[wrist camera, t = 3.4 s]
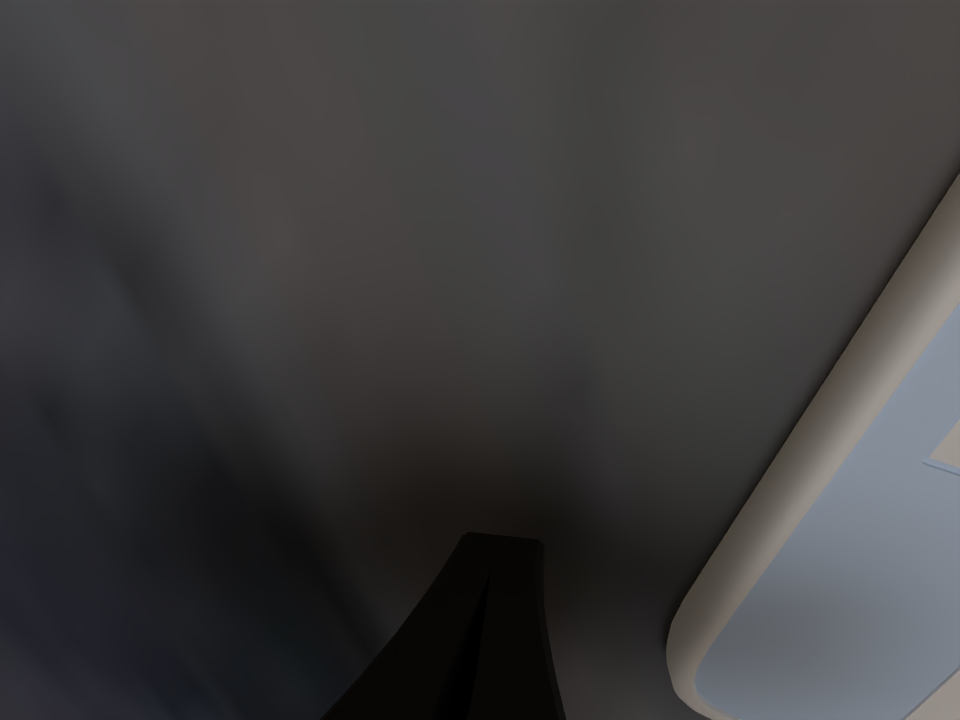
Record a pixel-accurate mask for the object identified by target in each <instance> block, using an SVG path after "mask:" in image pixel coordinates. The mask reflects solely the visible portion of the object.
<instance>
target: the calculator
mask: <svg viewBox="0 0 960 720" xmlns="http://www.w3.org/2000/svg"><path fill="white" fill-rule="evenodd" d="M666 660H667V667H668V671H669V674H670V678H671V681H672V685H673V688H674V691H675V692H676V694H677V695H678V697H679V698H680V699H681V700H682V701H684V702H685V703H686V704H687V705H688V706H689V707H690V708H691V709H693V710H694V711H696V712H698V713H700V714H702V715H704V716H706V717H708V718H710V719H712V720H960V173H959V174H958V176H957V177H956V179H955V180H954V182H953V184H952V185H951V187H950V188H949V190H948V191H947V193H946V194H945V196H944V197H943V199H942V201H941V202H940V204H939V205H938V207H937V208H936V210H935V211H934V213H933V214H932V216H931V218H930V219H929V221H928V222H927V224H926V225H925V227H924V228H923V230H922V231H921V233H920V235H919V236H918V238H917V239H916V241H915V242H914V244H913V245H912V247H911V248H910V250H909V252H908V253H907V255H906V256H905V258H904V259H903V261H902V262H901V264H900V265H899V267H898V269H897V270H896V272H895V273H894V275H893V276H892V278H891V279H890V281H889V282H888V284H887V285H886V287H885V289H884V290H883V292H882V293H881V295H880V296H879V298H878V299H877V301H876V302H875V304H874V306H873V307H872V309H871V310H870V312H869V313H868V315H867V316H866V318H865V319H864V321H863V323H862V324H861V326H860V327H859V329H858V330H857V332H856V333H855V335H854V336H853V338H852V340H851V341H850V343H849V344H848V346H847V347H846V349H845V350H844V352H843V353H842V355H841V357H840V358H839V360H838V361H837V363H836V364H835V366H834V367H833V369H832V370H831V372H830V374H829V375H828V377H827V378H826V380H825V381H824V383H823V384H822V386H821V387H820V389H819V391H818V392H817V394H816V395H815V397H814V398H813V400H812V401H811V403H810V404H809V406H808V407H807V409H806V411H805V412H804V414H803V415H802V417H801V418H800V420H799V421H798V423H797V424H796V426H795V428H794V429H793V431H792V432H791V434H790V435H789V437H788V438H787V440H786V441H785V443H784V445H783V446H782V448H781V449H780V451H779V452H778V454H777V455H776V457H775V458H774V460H773V462H772V463H771V465H770V466H769V468H768V469H767V471H766V472H765V474H764V475H763V477H762V479H761V480H760V482H759V483H758V485H757V486H756V488H755V489H754V491H753V492H752V494H751V496H750V497H749V499H748V500H747V502H746V503H745V505H744V506H743V508H742V509H741V511H740V512H739V514H738V516H737V517H736V519H735V520H734V522H733V523H732V525H731V526H730V528H729V529H728V531H727V533H726V534H725V536H724V537H723V539H722V540H721V542H720V543H719V545H718V546H717V548H716V550H715V551H714V553H713V554H712V556H711V557H710V559H709V560H708V562H707V563H706V565H705V567H704V568H703V570H702V571H701V573H700V574H699V576H698V577H697V579H696V581H695V582H694V584H693V585H692V587H691V588H690V590H689V592H688V593H687V595H686V596H685V598H684V600H683V601H682V603H681V605H680V607H679V609H678V611H677V613H676V615H675V617H674V619H673V620H672V623H671V627H670V631H669V635H668V640H667V647H666Z"/></svg>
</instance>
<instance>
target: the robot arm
mask: <svg viewBox="0 0 960 720" xmlns="http://www.w3.org/2000/svg"><path fill="white" fill-rule="evenodd" d="M320 720H566V717H565V713H564V709H563V705H562V701H561V696H560V692H559V688H558V684H557V679H556V674H555V670H554V665H553V660H552V654H551V648H550V643H549V637H548V631H547V625H546V618H545V610H544V545H543V544H542V543H541V542H540V541H539V540H536V539H527V538H518V537H509V536H500V535H491V534H482V533H473V532H467V533H466V534H465V535H463V536H462V537H461V539H460V541H459V542H458V544H457V546H456V548H455V549H454V551H453V553H452V554H451V556H450V557H449V559H448V561H447V562H446V564H445V565H444V567H443V568H442V570H441V571H440V573H439V574H438V576H437V577H436V579H435V580H434V582H433V583H432V585H431V586H430V588H429V589H428V591H427V592H426V593H425V595H424V596H423V598H422V599H421V600H420V602H419V603H418V604H417V606H416V607H415V608H414V610H413V611H412V612H411V614H410V615H409V616H408V618H407V619H406V620H405V622H404V623H403V624H402V626H401V627H400V628H399V630H398V631H397V632H396V634H395V635H394V636H393V637H392V639H391V640H390V641H389V642H388V643H387V645H386V646H385V647H384V648H383V649H382V651H381V652H380V653H379V654H378V655H377V657H376V658H375V659H374V660H373V661H372V663H371V664H370V665H369V666H368V667H367V669H366V670H365V671H364V672H363V673H362V675H361V676H360V677H359V678H358V679H357V680H356V681H355V683H354V684H353V685H352V686H351V687H350V688H349V689H348V690H347V691H346V693H345V694H344V695H343V696H342V697H341V698H340V699H339V700H338V701H337V702H336V703H335V704H334V705H333V706H332V707H331V709H330V710H329V711H328V712H327V713H326V714H325V715H324V716H323V717H322V718H321V719H320Z"/></svg>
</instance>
